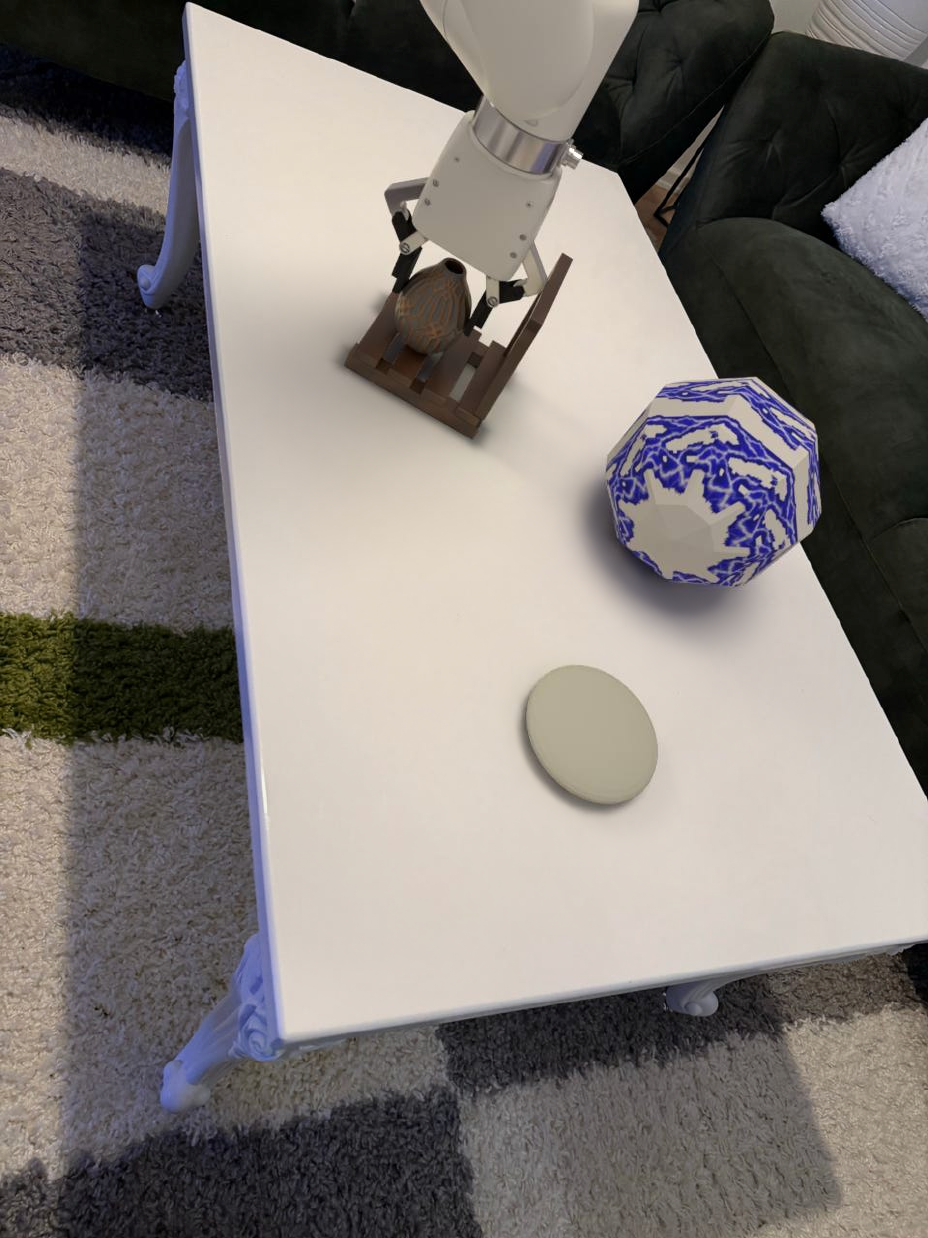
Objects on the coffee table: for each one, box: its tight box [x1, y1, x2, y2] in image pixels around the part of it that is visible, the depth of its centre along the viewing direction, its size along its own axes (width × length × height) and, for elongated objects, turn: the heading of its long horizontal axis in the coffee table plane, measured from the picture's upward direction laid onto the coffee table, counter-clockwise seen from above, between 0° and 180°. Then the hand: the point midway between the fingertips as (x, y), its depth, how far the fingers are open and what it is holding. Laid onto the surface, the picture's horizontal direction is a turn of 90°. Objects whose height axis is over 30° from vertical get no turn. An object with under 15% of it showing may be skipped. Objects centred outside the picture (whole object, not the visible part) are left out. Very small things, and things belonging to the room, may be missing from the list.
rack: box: [343, 252, 574, 440], centre depth 82 cm, size 14×12×15 cm
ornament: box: [604, 376, 822, 588], centre depth 82 cm, size 20×20×20 cm
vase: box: [395, 257, 473, 355], centre depth 82 cm, size 7×7×9 cm
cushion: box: [525, 664, 659, 805], centre depth 71 cm, size 12×12×3 cm
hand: (435, 305), depth 83 cm, fingers closed on vase, 6 cm apart
